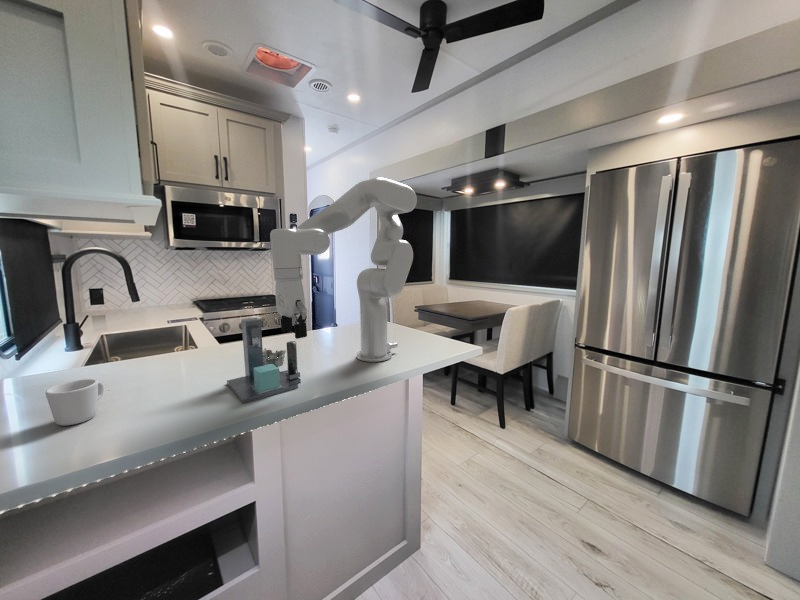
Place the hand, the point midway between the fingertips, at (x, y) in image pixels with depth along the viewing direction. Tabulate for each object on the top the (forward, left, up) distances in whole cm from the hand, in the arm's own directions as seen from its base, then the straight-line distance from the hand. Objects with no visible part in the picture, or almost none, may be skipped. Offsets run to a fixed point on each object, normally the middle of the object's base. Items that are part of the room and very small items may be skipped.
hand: (294, 334), depth 90 cm
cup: (+45, -11, -14) cm, 48 cm away
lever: (+1, 0, -13) cm, 12 cm away
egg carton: (-1, -21, -14) cm, 25 cm away
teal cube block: (+9, +2, -12) cm, 15 cm away
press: (+8, -2, -14) cm, 16 cm away
